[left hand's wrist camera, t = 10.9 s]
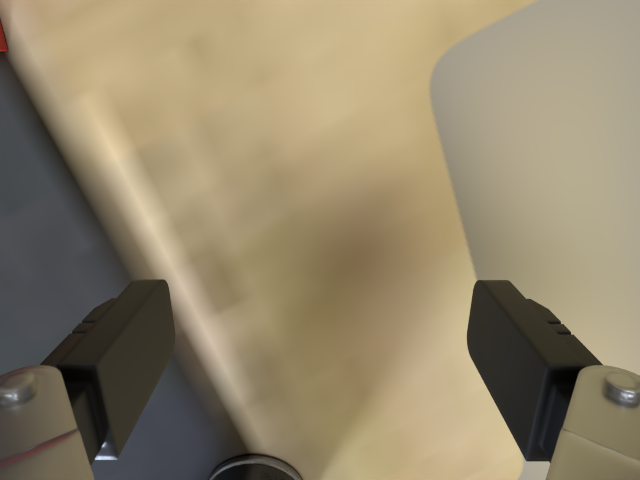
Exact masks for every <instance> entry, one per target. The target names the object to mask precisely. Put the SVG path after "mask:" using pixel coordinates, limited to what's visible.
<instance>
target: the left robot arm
mask: <svg viewBox="0 0 640 480" xmlns="http://www.w3.org/2000/svg"><path fill="white" fill-rule="evenodd" d="M467 345H468V350H469V354H470V356H471V359H472V360H473V362H474V364H475V366H476V368H477V370H478V372H479V374H480V375H481V377H482V379H483V381H484V383H485V385H486V387H487V388H488V390H489V392H490V394H491V396H492V398H493V400H494V402H495V403H496V405H497V407H498V409H499V411H500V413H501V415H502V417H503V418H504V420H505V422H506V424H507V426H508V428H509V430H510V431H511V433H512V435H513V437H514V439H515V441H516V443H517V445H518V446H519V448H520V450H521V452H522V454H523V456H524V458H525V460H526V461H549V462H550V467H549V470H548V474H547V477H546V480H640V376H639V375H637V374H635V373H632V372H630V371H627V370H624V369H620V368H616V367H612V366H605V365H603V364H602V363H601V362H600V361H599V360H598V359H597V358H596V357H595V356H594V355H593V354H592V353H591V352H590V351H589V350H588V349H587V348H586V347H585V346H584V345H583V344H582V343H581V342H580V341H579V340H578V339H577V338H576V337H575V336H574V335H571V332H570V331H569V330H568V329H567V328H566V327H565V326H564V324H561V321H560V320H559V319H558V318H557V317H556V316H555V315H554V314H553V313H552V312H551V311H550V310H549V309H547V308H545V307H544V306H542V305H540V304H538V303H537V302H535V301H533V300H531V299H526V298H525V297H524V296H523V295H522V294H521V293H520V292H519V291H518V290H517V289H516V288H515V286H514V285H513V284H512V283H511V282H510V281H508V280H478V281H477V282H476V283H475V285H474V289H473V296H472V302H471V309H470V316H469V323H468V330H467ZM174 346H175V328H174V321H173V314H172V307H171V300H170V293H169V287H168V284H167V282H166V281H165V280H133V281H132V282H131V283H130V284H129V285H128V286H127V288H126V289H125V290H124V291H123V292H122V293H121V294H120V295H119V296H118V297H117V298H112V299H110V300H108V301H107V302H105V303H103V304H101V305H100V306H98V307H96V308H94V309H93V310H92V311H91V312H90V313H89V314H88V315H87V316H86V317H85V318H84V320H83V321H82V323H80V324H79V325H78V326H77V327H76V328H75V329H74V330H73V331H72V334H69V335H68V336H67V337H66V338H65V339H64V340H63V341H62V342H61V343H60V344H59V345H58V346H57V347H56V348H55V349H54V351H53V352H52V353H51V354H50V355H49V356H48V357H47V358H46V359H45V360H44V361H43V362H42V363H41V364H40V365H35V366H28V367H23V368H20V369H16V370H13V371H10V372H8V373H5V374H3V375H1V376H0V480H94V477H93V474H92V470H91V467H90V466H91V465H92V463H93V461H94V460H117V459H118V457H119V455H120V453H121V451H122V449H123V447H124V445H125V443H126V442H127V440H128V438H129V436H130V434H131V432H132V430H133V428H134V426H135V425H136V423H137V421H138V419H139V417H140V415H141V413H142V411H143V409H144V407H145V406H146V404H147V402H148V400H149V398H150V396H151V394H152V392H153V390H154V389H155V387H156V385H157V383H158V381H159V379H160V377H161V375H162V373H163V371H164V370H165V368H166V366H167V364H168V362H169V360H170V358H171V356H172V354H173V351H174ZM208 480H302V479H301V477H300V476H299V474H298V473H297V472H296V471H295V470H294V469H293V468H291V467H290V466H288V465H287V464H285V463H283V462H281V461H279V460H277V459H274V458H270V457H266V456H257V455H250V456H241V457H237V458H233V459H231V460H228V461H226V462H224V463H223V464H221V465H220V466H218V467H217V468H216V469H215V470H214V471H213V472H212V474H211V475H210V477H209V479H208Z"/></svg>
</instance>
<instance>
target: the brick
mask: <svg viewBox="0 0 640 480" xmlns="http://www.w3.org/2000/svg"><path fill="white" fill-rule="evenodd" d="M0 51H8V49H7V45H6V41H5V37H4V33H3V30H2V26H1V22H0Z"/></svg>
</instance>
